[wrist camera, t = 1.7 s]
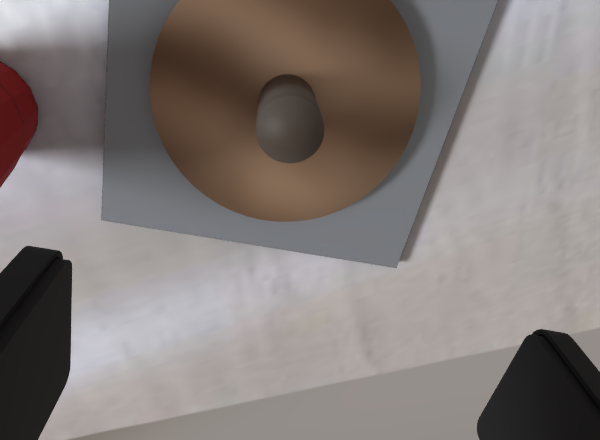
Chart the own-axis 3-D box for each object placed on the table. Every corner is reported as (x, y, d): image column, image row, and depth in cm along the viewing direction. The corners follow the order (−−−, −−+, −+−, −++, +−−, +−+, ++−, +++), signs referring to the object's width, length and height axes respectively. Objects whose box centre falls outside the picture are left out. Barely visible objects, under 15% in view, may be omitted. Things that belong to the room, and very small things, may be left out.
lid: (166, -86, 23) (134, -101, 18) (454, -11, 25) (503, -5, 20) (144, 192, 30) (117, 241, 24) (373, 231, 32) (393, 284, 27)
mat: (120, -161, 22) (115, -165, 21) (510, -51, 25) (517, -52, 24) (105, 214, 31) (101, 220, 30) (393, 261, 34) (396, 268, 33)
